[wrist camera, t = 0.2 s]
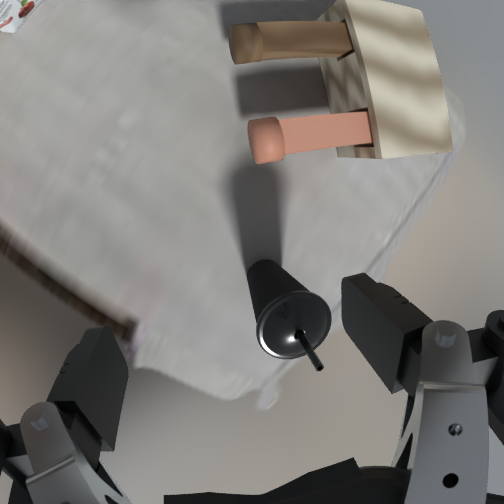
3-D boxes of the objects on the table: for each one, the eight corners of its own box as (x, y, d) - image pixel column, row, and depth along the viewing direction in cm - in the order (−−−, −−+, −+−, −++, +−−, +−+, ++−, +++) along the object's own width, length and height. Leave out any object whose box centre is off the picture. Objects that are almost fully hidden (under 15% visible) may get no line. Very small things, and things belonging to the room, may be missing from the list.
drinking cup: (228, 261, 39) (261, 352, 21) (282, 241, 40) (356, 312, 21) (246, 309, 42) (286, 413, 23) (297, 289, 42) (365, 377, 24)
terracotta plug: (245, 123, 30) (253, 117, 26) (374, 109, 32) (395, 105, 28) (253, 163, 32) (262, 164, 27) (380, 145, 33) (402, 145, 29)
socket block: (309, 26, 31) (343, -6, 22) (379, 31, 33) (421, 10, 23) (338, 157, 38) (382, 158, 28) (404, 149, 39) (453, 151, 29)
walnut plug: (226, 35, 26) (231, 18, 22) (355, 32, 28) (374, 20, 24) (234, 69, 28) (240, 56, 24) (363, 63, 30) (383, 54, 25)
